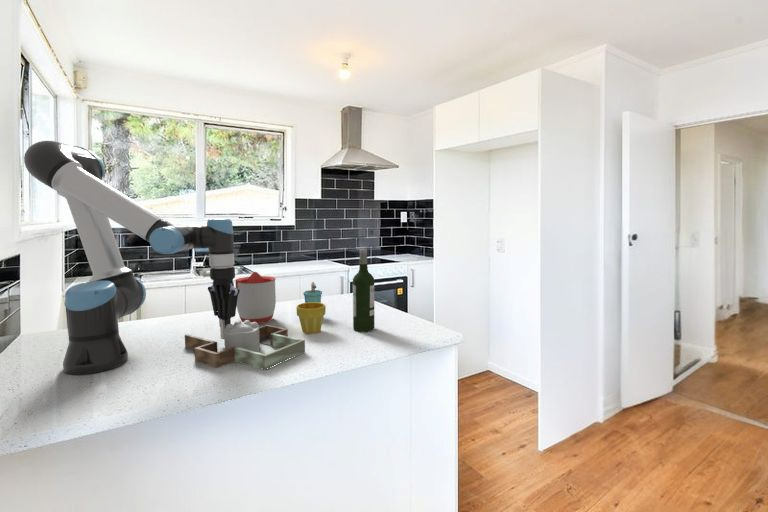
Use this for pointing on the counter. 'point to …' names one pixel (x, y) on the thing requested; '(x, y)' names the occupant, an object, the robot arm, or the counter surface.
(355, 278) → the wine bottle
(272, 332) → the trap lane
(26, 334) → the counter surface
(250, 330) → the lumpy-topped squat cylinder
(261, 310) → the citrus juicer
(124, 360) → the robot arm
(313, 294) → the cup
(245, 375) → the counter surface
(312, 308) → the plant pot
